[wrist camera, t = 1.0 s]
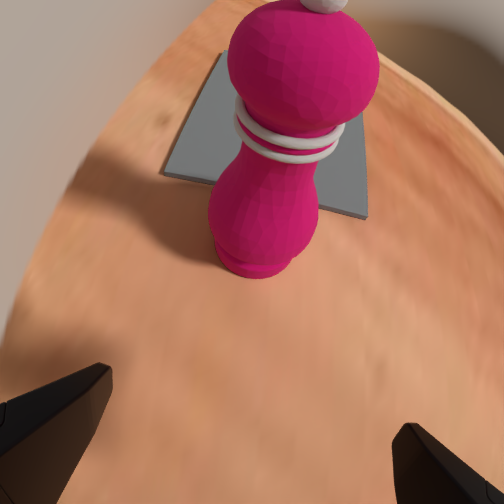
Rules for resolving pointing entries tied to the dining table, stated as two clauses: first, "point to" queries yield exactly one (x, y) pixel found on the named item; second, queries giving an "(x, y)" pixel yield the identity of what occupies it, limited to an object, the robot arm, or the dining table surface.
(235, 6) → the dining table surface
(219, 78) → the mat
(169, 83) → the dining table surface
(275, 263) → the pepper mill
